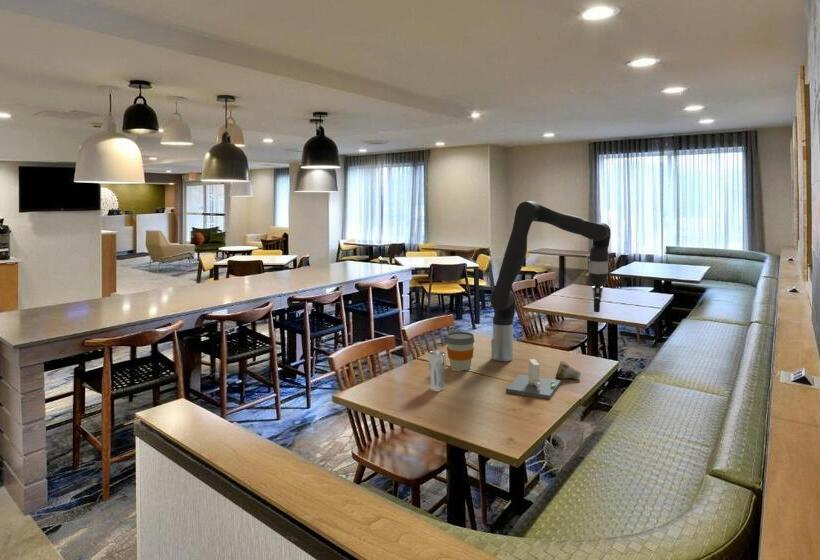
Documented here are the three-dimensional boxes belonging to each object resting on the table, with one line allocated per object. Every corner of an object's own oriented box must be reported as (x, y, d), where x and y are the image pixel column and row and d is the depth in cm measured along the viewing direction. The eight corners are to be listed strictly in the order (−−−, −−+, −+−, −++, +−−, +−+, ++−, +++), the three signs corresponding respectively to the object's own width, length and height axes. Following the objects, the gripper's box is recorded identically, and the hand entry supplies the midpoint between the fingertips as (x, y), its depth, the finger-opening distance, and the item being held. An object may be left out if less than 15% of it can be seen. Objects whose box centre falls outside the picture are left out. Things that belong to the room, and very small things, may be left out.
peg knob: (526, 380, 210) (526, 359, 208) (537, 380, 210) (537, 359, 208) (532, 390, 199) (533, 367, 198) (544, 389, 199) (544, 367, 198)
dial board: (506, 392, 203) (506, 386, 202) (519, 377, 218) (519, 372, 218) (549, 399, 195) (549, 392, 194) (560, 383, 210) (560, 377, 210)
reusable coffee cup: (462, 361, 242) (462, 330, 240) (480, 368, 232) (480, 335, 229) (441, 366, 235) (440, 334, 233) (458, 374, 225) (458, 340, 223)
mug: (582, 383, 211) (570, 363, 210) (560, 389, 217) (549, 369, 215) (584, 373, 217) (573, 353, 216) (563, 379, 223) (552, 360, 221)
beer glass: (427, 386, 211) (427, 350, 209) (444, 385, 212) (444, 349, 210) (429, 392, 205) (429, 355, 202) (447, 391, 205) (446, 354, 203)
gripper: (588, 268, 222) (587, 305, 225) (588, 273, 209) (587, 313, 212) (607, 269, 220) (605, 306, 222) (608, 274, 207) (606, 314, 209)
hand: (596, 309), depth 217 cm, fingers open, 8 cm apart
